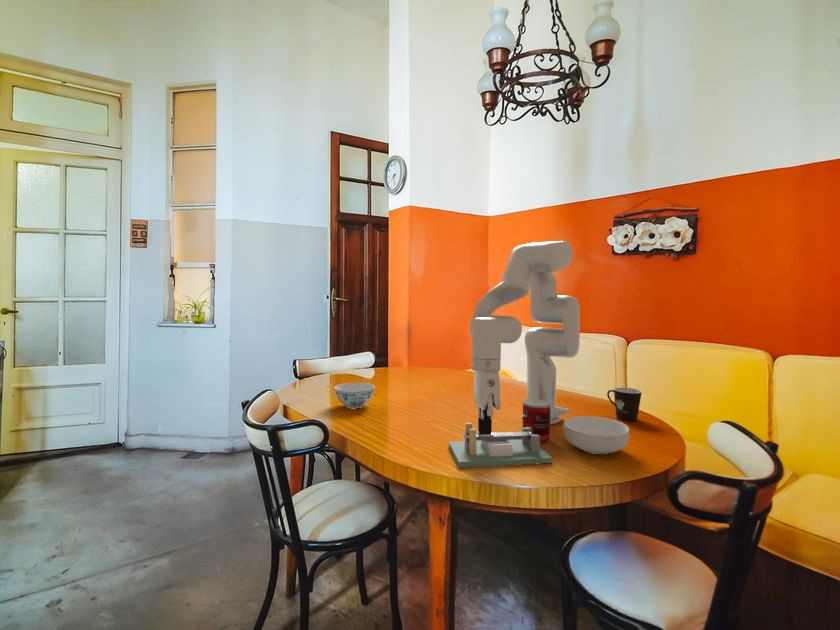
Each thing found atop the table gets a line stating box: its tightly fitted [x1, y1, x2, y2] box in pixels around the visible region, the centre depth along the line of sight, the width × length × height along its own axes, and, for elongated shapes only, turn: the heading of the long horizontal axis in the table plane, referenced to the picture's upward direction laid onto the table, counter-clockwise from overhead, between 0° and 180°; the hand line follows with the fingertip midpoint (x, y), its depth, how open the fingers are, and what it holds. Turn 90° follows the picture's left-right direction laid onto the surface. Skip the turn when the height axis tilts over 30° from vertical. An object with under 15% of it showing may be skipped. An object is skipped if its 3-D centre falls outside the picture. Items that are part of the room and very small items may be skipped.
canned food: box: [522, 398, 551, 443], centre depth 123 cm, size 8×8×11 cm
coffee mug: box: [606, 387, 642, 423], centre depth 144 cm, size 12×9×10 cm
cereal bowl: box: [563, 415, 630, 455], centre depth 114 cm, size 17×17×7 cm
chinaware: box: [334, 382, 376, 409], centre depth 156 cm, size 15×15×8 cm
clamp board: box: [448, 422, 553, 469], centre depth 110 cm, size 24×14×8 cm, turn 96°
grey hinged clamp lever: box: [463, 430, 534, 441], centre depth 110 cm, size 19×4×2 cm, turn 96°
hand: (484, 433), depth 109 cm, fingers closed
